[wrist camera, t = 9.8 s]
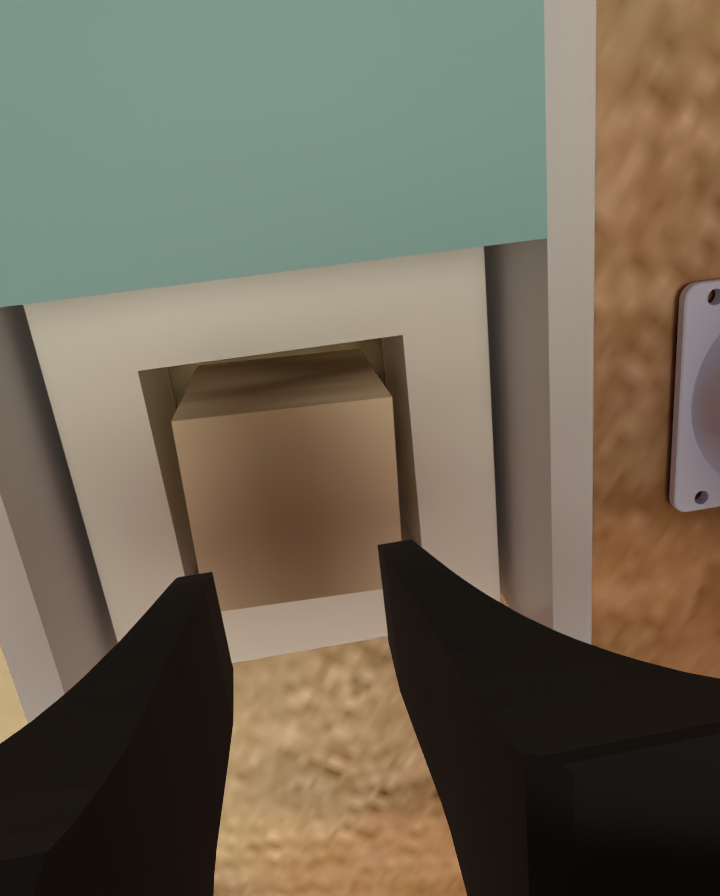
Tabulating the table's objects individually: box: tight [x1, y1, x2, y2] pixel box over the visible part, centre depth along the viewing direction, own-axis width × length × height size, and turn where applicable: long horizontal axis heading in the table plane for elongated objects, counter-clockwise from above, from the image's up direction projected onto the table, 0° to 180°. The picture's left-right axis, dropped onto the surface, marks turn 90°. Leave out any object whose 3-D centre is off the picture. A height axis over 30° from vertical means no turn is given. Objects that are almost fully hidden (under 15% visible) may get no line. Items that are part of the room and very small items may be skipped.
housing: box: [0, 0, 596, 723], centre depth 16 cm, size 14×24×7 cm, turn 6°
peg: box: [171, 349, 402, 611], centre depth 19 cm, size 5×5×6 cm
